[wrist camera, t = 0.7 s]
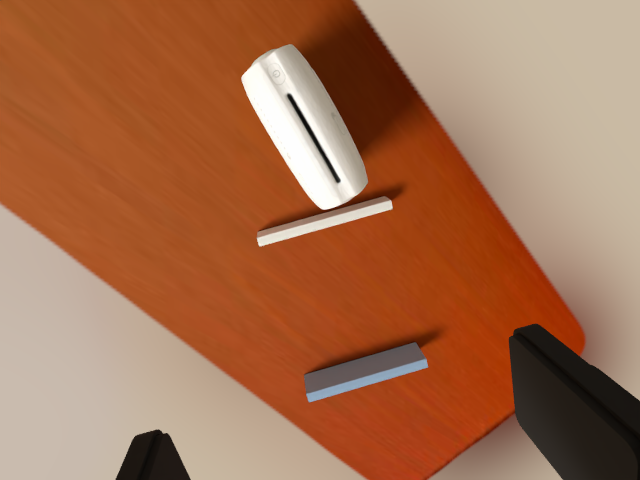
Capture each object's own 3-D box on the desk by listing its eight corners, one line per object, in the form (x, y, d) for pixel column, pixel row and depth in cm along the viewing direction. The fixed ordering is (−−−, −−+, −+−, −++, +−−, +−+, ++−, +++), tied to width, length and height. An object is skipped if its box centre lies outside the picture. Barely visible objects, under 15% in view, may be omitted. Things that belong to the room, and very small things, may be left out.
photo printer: (243, 87, 32) (224, 66, 20) (288, 58, 32) (296, 21, 20) (308, 194, 35) (325, 230, 23) (350, 168, 35) (388, 193, 23)
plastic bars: (257, 231, 35) (256, 241, 32) (384, 195, 36) (394, 202, 33) (306, 382, 40) (308, 402, 38) (417, 350, 41) (427, 367, 38)
